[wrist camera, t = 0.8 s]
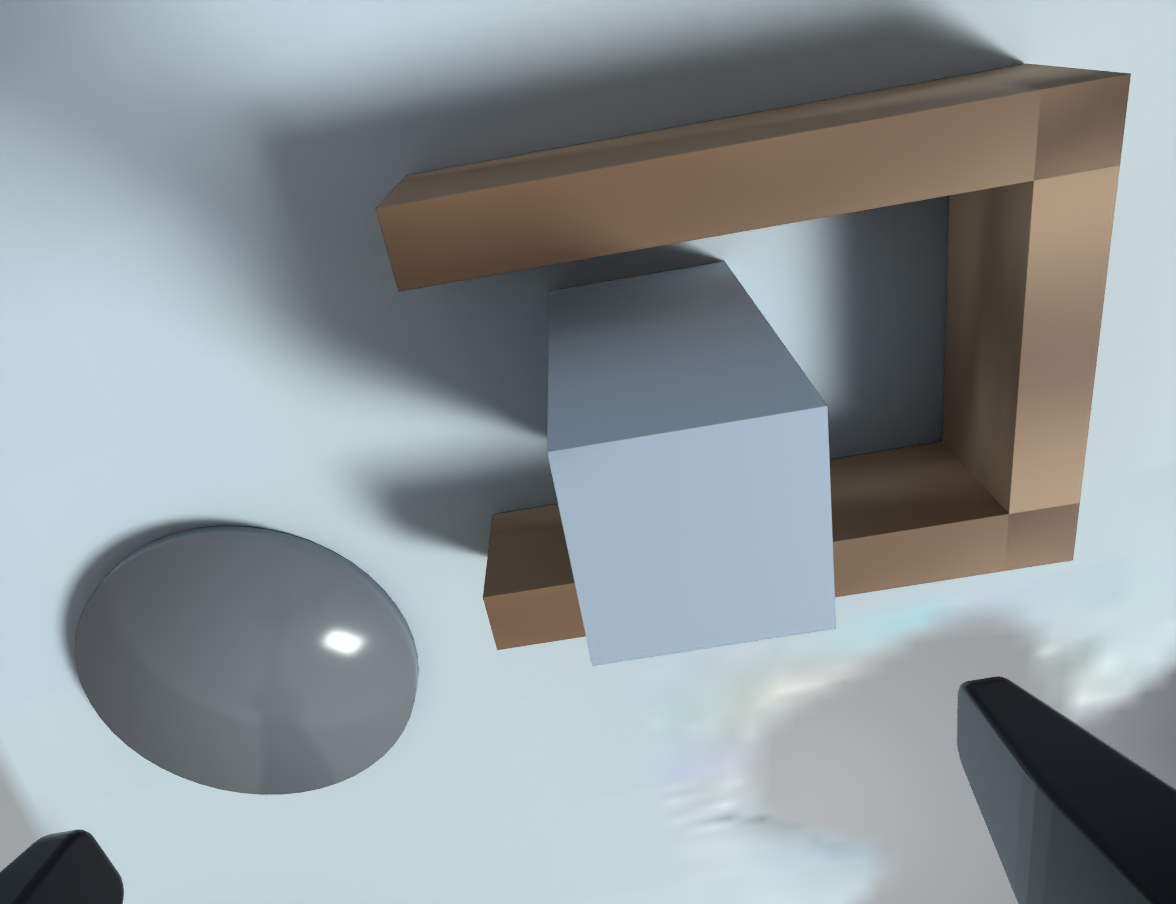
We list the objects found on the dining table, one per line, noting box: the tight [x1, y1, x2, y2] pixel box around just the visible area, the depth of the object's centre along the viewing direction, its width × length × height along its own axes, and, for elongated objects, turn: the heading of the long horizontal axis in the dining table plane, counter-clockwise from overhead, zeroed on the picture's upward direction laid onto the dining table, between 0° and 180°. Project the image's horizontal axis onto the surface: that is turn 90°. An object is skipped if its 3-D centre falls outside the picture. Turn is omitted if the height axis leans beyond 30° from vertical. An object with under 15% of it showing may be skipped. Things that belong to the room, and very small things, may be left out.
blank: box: [547, 261, 836, 666], centre depth 16 cm, size 4×4×8 cm
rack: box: [376, 64, 1131, 650], centre depth 18 cm, size 10×13×4 cm
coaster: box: [75, 526, 419, 794], centre depth 23 cm, size 9×9×1 cm
